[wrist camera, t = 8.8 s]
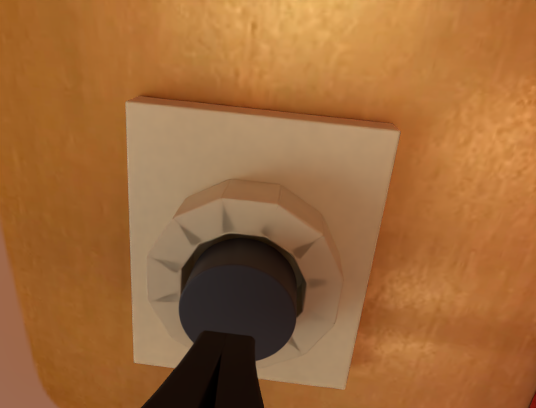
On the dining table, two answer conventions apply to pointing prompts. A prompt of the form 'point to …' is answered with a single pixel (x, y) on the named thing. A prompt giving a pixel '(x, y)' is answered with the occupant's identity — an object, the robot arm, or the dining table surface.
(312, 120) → the dial knob panel
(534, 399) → the red rectangular open box
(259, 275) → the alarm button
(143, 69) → the dining table surface
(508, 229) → the dining table surface
